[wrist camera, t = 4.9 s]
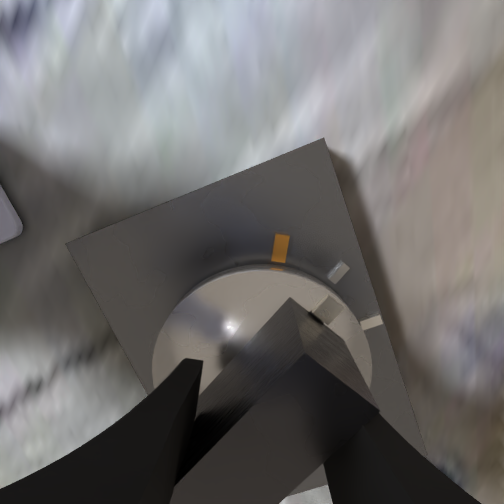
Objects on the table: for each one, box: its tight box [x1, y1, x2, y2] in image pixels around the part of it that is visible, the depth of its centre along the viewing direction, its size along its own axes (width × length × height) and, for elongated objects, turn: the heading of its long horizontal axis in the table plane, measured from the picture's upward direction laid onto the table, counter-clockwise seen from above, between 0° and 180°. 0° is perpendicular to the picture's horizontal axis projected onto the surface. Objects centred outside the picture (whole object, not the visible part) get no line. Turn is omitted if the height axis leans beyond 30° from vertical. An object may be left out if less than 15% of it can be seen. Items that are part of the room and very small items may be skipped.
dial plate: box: [66, 138, 427, 496], centre depth 14 cm, size 10×14×2 cm
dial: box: [152, 264, 380, 504], centre depth 11 cm, size 8×8×4 cm
